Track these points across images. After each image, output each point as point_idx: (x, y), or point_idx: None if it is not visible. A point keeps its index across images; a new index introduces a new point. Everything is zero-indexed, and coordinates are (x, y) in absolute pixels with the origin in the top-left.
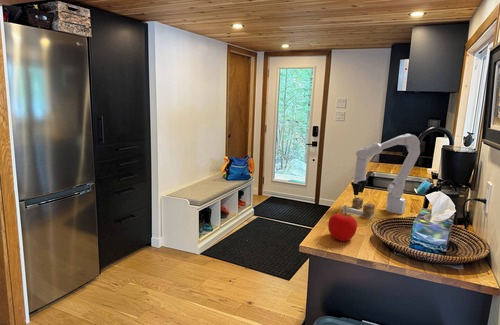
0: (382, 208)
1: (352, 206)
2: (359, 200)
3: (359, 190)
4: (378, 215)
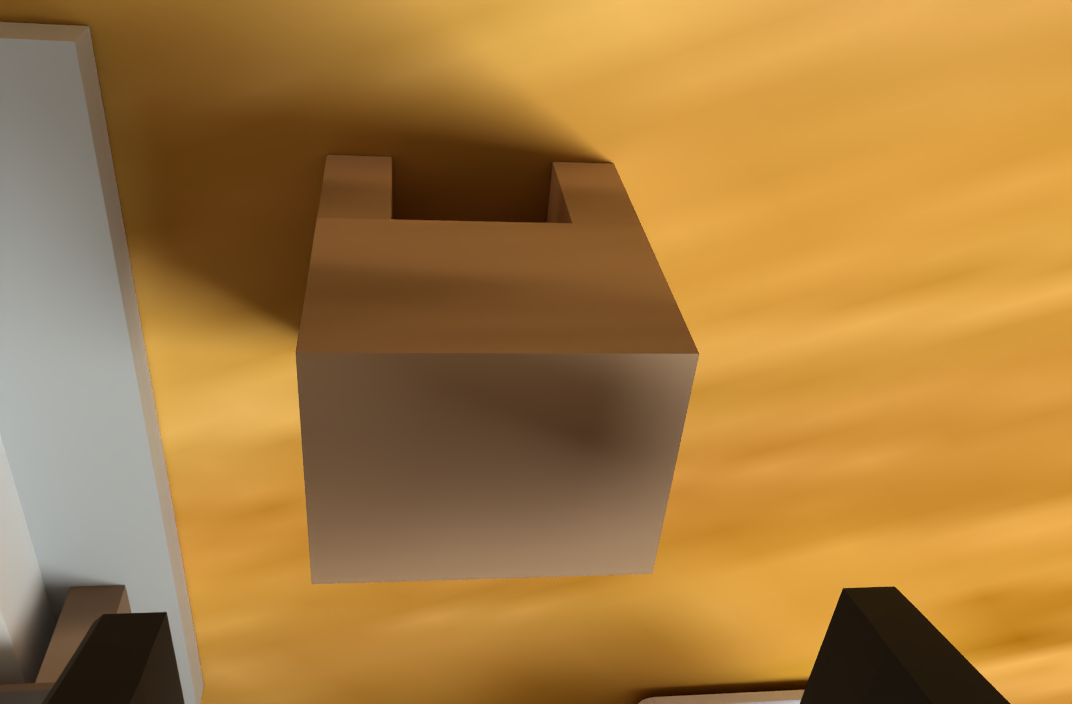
0: None
1: (319, 211)
2: (320, 573)
3: (873, 689)
4: (352, 697)
